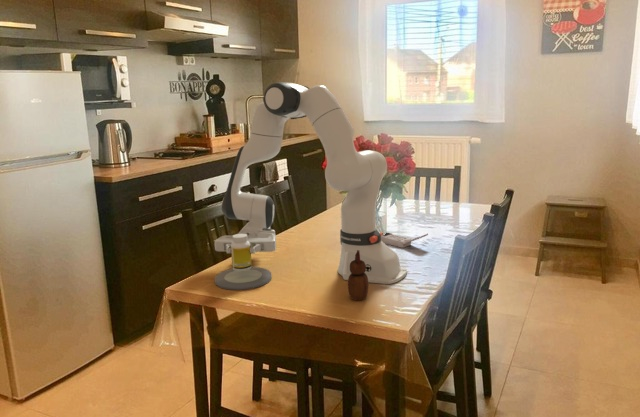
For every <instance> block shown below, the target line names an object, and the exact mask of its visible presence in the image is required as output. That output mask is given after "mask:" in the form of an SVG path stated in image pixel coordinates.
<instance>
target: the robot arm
mask: <svg viewBox="0 0 640 417" xmlns="http://www.w3.org/2000/svg"><path fill="white" fill-rule="evenodd" d="M262 99H263V100H262V102H259V103H258V104H257V105H256V108H255V110H254V113H253V116H252V120H251V127H250V134H249V139H248V140H247V142H246V143H245V145H242V146H241V147H240V148H239V149H238V152H237V154H236V157H235V160H234V163H233V167H232V170H231V174H230V177H229V181H228V184H227V187H226V190H225V194H224V196H223V198H222V202H221V212H222V213H223V214H224V215H225V217H226V218H227V219H228V220H242V221H248V222H247V223H246V224H245V225H244V226H243V227H242V228H241V229H240V231H239V232H238V233H237V234H247V238H248V239H247V241H248V242H249V243H250V254H251V255H252V254H256V253H258V252H260V253H261V252H263V253H264V252H267V253H268V252H269V253H270V252H271V253H272V252H275V251H276V250H277V235H276V231H275V229H272V228H271V226H272V225H273V224H274V221H275V217H276V208H277V207H276V204H275V202H274V200H273V199H272V197H271V196H269V195H265V194H258V193H251V192H249V193H248V192H244V191H242V190H241V186H242V183H243V181H244V177H245V173H246V170H247V168H248V167H249V166H251V165H252V164H257V163H261V162H264V161H269V160H271V159H273V158H275V157H276V156H277V155H278V154H279V153H280V151H281V149H282V144H283V137H284V128H285V124H286V122H287V121H288V120H289V119H291V120H297V119H303V118H306V117H307V119H308V120H309V122H310V124H311V126H312V127H313V129H314V131H315V134H316V135H317V137H318V140H320V142H321V145H322V147H323V149H324V153H325V158H326V166H325V170H324V177H325V181H326V183H327V184H328V186H329V187H330V188H331V189H333V190H334V191H338V192H339V191H341V192H347V193H346V196H345V198H344V200H343V201H342V204H341V207H340V220H341V221H340V223H341V224H340V225H341V226H340V227H341V229H340V231H339V232H340V233H339V236H340V238H339V239H340V245H341V247H340V258H339V265H338V268H337V273H338V274H339V275H340V276H342V279H343V280H344V281H348V278H349V276H350V274H351V272H350V263H351V261H353V260H355V254H356V253H357V250H359V252H360V260H362V261H364V262H365V265H366V271H365V272H364V273H365V274H366V275H367V277H368V283H371V284H373V283H374V284H383V285H385V284H386V285H390V284H395V283H397V282H399V281H401V280H403V279H404V278H405V277H406V276H407V274H408V270H407V269H408V268H406V267H403V266H401V264H400V259H399V255H398V253H397V252H396V251H394V250H393V249H391V248H390V247H389V245H388V244H384V243H383V242H382V241H381V236H382V235H383V232H384V231H378V229H377V226H376V225H377V224H376V222H377V221H376V220H377V217H376V216H377V215H376V214H377V213H376V212H377V211H376V208H377V201H378V200H377V199H378V195H379V191H380V187H381V184H382V180H383V178H384V177H385V175H386V173H387V172H388V163H387V159H386V157H385V156H384V154H382V153H381V152H379V151H377V150H370V149H369V150H368V149H367V150H366V149H364V150H360V151H357V148H356V146H355V143H354V135H355V128H354V126H353V125H352V123H351V121H350V119H349V117H348V115H347V114H346V112H345V111H344V109H343V107H342V105H341V104H340V102H339V101H338V99H337V98H336V96H335V95H334V94H333V92H331V91H330V89H329V88H328V87H327V86H325V85H322V84H321V85H320V84H318V85H317V84H316V85H314V86H312V87H308V86H306V85H301V84H298V83H294V82H284V81H278V82H274V83H272V84H270V85H269V86H267V88H265V91H264V93H263V98H262ZM379 232H381V233H379ZM233 235H234V234H233ZM233 235H229V234H228V235H221V236H220V237H218V238H216V240H214V251H216V252H226V254H231V244H232V243H233V242H234V241H233V238H232V236H233Z"/></svg>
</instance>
